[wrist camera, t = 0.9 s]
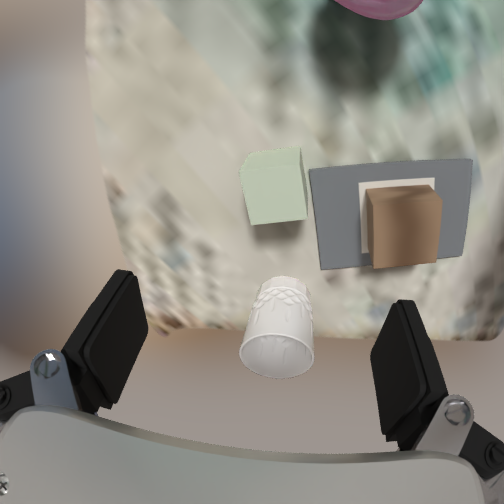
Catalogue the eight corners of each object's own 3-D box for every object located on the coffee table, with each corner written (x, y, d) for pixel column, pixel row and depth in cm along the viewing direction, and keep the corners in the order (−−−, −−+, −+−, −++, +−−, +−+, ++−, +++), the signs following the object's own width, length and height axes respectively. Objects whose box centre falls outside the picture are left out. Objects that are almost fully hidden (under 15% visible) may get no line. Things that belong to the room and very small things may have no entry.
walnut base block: (428, 184, 28) (442, 200, 25) (425, 242, 31) (436, 262, 28) (365, 188, 30) (373, 205, 26) (367, 247, 33) (373, 268, 30)
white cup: (323, 308, 40) (324, 371, 31) (270, 323, 43) (260, 383, 34) (300, 262, 36) (296, 325, 28) (242, 282, 39) (224, 343, 31)
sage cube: (300, 145, 29) (299, 163, 24) (307, 192, 31) (307, 219, 26) (250, 152, 30) (238, 172, 25) (259, 197, 33) (251, 225, 28)
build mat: (470, 159, 26) (472, 160, 25) (460, 253, 32) (462, 255, 31) (309, 169, 30) (308, 170, 30) (321, 267, 36) (321, 269, 36)
